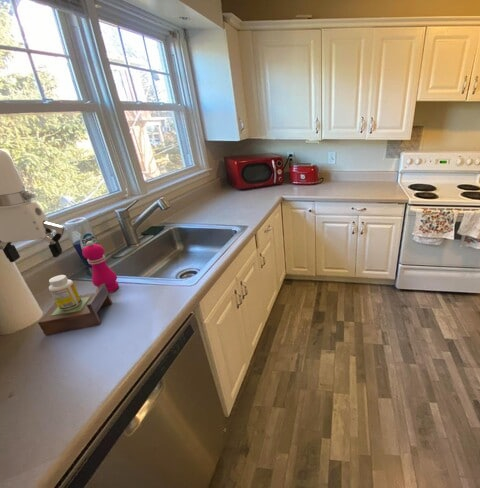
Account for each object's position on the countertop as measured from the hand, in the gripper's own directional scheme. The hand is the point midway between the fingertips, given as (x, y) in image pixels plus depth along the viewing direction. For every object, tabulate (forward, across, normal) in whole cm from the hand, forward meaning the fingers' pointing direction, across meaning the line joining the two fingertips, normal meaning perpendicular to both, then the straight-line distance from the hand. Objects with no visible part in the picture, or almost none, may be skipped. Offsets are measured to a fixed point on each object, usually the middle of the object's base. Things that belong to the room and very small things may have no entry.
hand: (37, 257), depth 79 cm
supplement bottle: (+18, -2, -1) cm, 18 cm away
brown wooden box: (+23, -3, -1) cm, 23 cm away
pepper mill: (+23, -6, -17) cm, 29 cm away
